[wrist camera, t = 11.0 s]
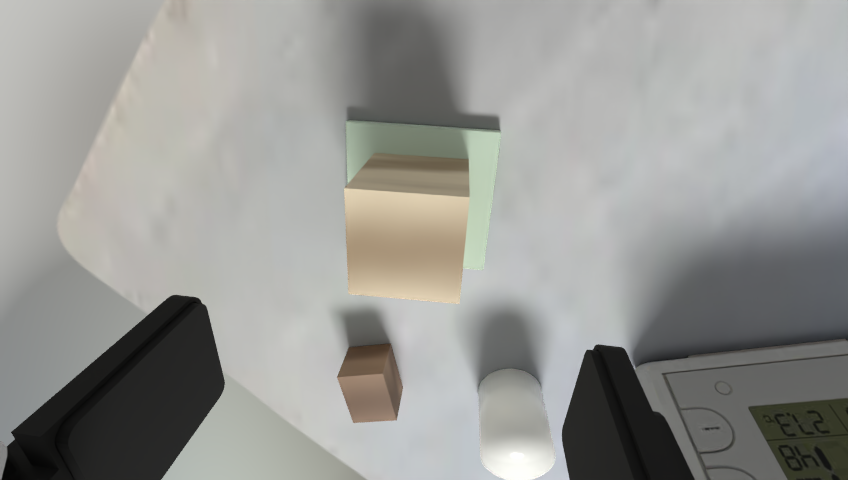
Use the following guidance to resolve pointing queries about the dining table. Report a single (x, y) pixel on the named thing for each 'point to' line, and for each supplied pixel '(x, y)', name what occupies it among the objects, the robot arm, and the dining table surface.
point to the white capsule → (514, 426)
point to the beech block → (407, 227)
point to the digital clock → (757, 410)
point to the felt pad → (437, 143)
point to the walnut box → (371, 383)
